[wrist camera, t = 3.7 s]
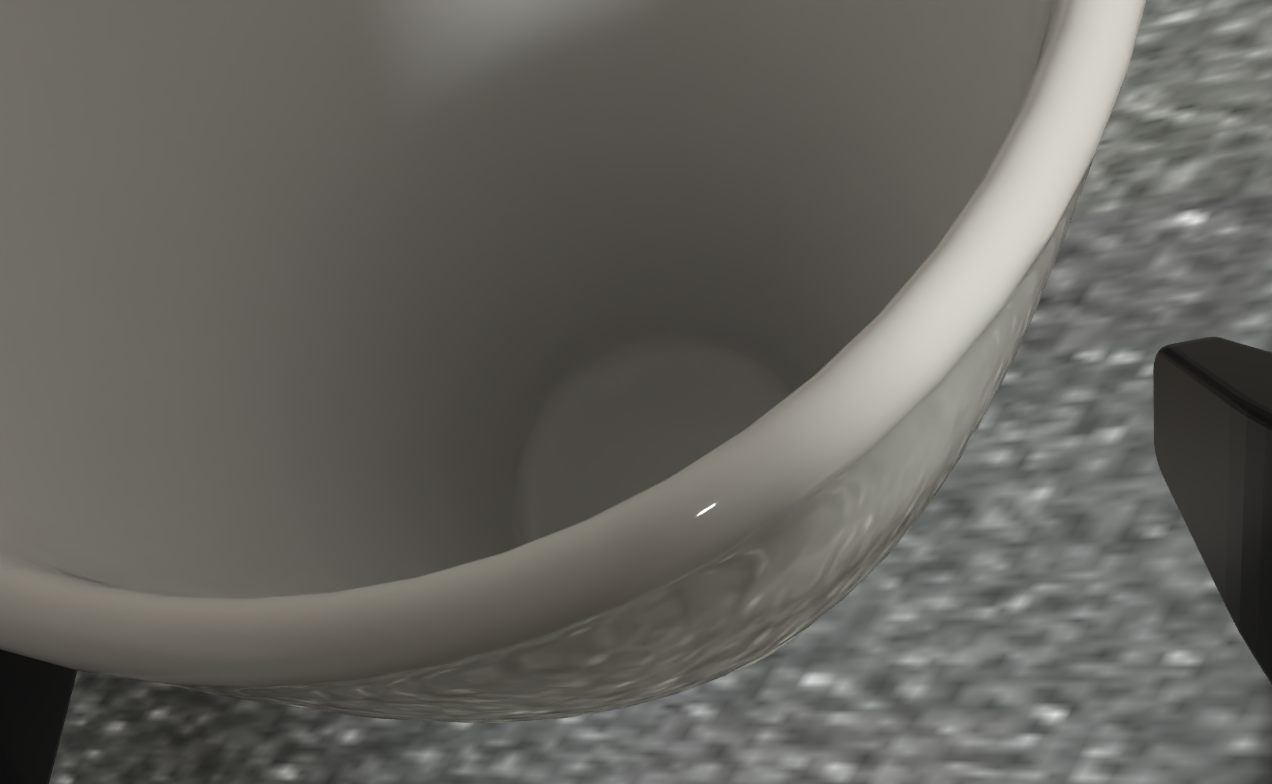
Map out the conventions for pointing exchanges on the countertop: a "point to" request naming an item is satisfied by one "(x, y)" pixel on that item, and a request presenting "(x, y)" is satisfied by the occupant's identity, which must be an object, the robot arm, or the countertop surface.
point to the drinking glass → (505, 326)
